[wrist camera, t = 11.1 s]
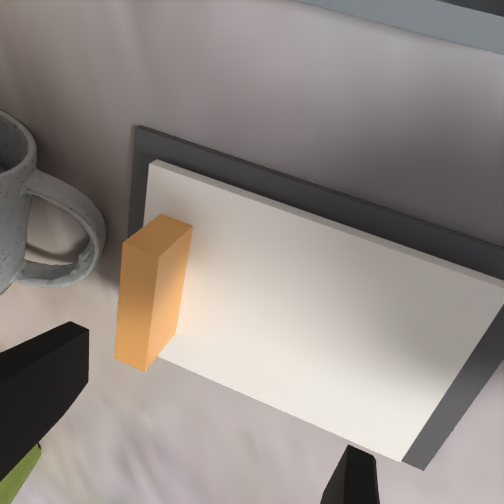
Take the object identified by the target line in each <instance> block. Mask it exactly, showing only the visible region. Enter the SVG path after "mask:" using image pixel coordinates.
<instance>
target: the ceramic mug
mask: <svg viewBox="0 0 504 504" xmlns="http://www.w3.org/2000/svg"><path fill="white" fill-rule="evenodd" d="M36 161H37V147H36V143H35V140H34V138H33V136H32V135H31V133H30V132H29V130H28V129H27V128H25V127H24V126H23V125H22V124H21V123H20V122H19V121H18V120H16V119H15V118H13V117H11V116H10V115H8V114H7V113H5V112H3V111H1V110H0V295H2V294H3V293H4V292H5V291H6V290H7V289H8V288H9V287H10V285H11V284H12V283H13V282H14V281H15V282H19V283H22V284H26V285H31V286H39V287H46V288H50V287H66V286H69V285H72V284H74V283H77V282H79V281H81V280H82V279H84V278H86V277H87V276H88V275H89V274H90V273H91V272H92V271H93V270H94V268H95V266H96V264H97V263H98V261H99V259H100V256H101V253H102V250H103V247H104V245H105V241H106V225H105V221H104V218H103V216H102V214H101V212H100V211H99V210H98V208H97V207H96V205H95V204H94V202H93V201H91V200H90V199H89V198H88V197H87V196H86V195H85V194H84V193H83V192H81V191H80V190H79V189H77V188H75V187H73V186H72V185H70V184H68V183H66V182H64V181H62V180H60V179H58V178H56V177H54V176H52V175H49V174H46V173H44V172H42V171H40V170H38V169H37V168H36ZM32 195H37V196H39V197H41V198H43V199H44V200H46V201H48V202H50V203H52V204H54V205H56V206H58V207H59V208H61V209H63V210H64V211H66V212H68V213H69V214H71V215H72V216H73V217H74V218H76V219H77V220H78V221H79V222H80V223H81V224H82V226H83V228H84V229H85V231H86V232H87V233H88V234H89V235H90V240H89V243H88V245H87V247H86V249H85V251H83V252H82V253H80V254H79V256H78V257H79V259H78V262H76V263H72V264H68V265H48V264H41V263H37V262H32V261H28V260H25V259H24V256H25V246H26V240H27V223H28V217H29V211H30V206H31V201H32Z"/></svg>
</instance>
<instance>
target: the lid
mask: <svg viewBox="0 0 504 504" xmlns="http://www.w3.org/2000/svg"><path fill="white" fill-rule="evenodd" d="M503 304H504V281H503V280H500V279H497V278H495V277H492V276H489V275H486V274H483V273H480V272H477V271H475V270H472V269H469V268H466V267H463V266H460V265H457V264H455V263H452V262H449V261H446V260H443V259H440V258H437V257H435V256H432V255H429V254H426V253H423V252H420V251H417V250H415V249H412V248H409V247H406V246H403V245H400V244H397V243H395V242H392V241H389V240H386V239H383V238H380V237H377V236H375V235H372V234H369V233H366V232H363V231H360V230H358V229H355V228H352V227H349V226H346V225H343V224H340V223H338V222H335V221H332V220H329V219H326V218H323V217H320V216H318V215H315V214H312V213H309V212H306V211H303V210H300V209H298V208H295V207H292V206H289V205H286V204H283V203H280V202H278V201H275V200H272V199H269V198H266V197H263V196H260V195H258V194H255V193H252V192H249V191H246V190H243V189H240V188H238V187H235V186H232V185H229V184H226V183H223V182H220V181H218V180H215V179H212V178H209V177H206V176H203V175H200V174H198V173H195V172H192V171H189V170H186V169H183V168H180V167H178V166H175V165H172V164H169V163H166V162H163V161H160V160H158V159H156V160H155V161H153V162H151V163H149V171H148V182H147V192H146V203H145V213H144V223H143V228H141V229H140V230H139V231H137V232H136V233H135V234H133V235H132V236H131V237H129V238H128V239H127V240H125V241H124V242H123V244H122V259H121V273H120V287H119V302H118V316H117V331H116V345H115V359H117V360H119V361H122V362H124V363H126V364H128V365H131V366H133V367H135V368H137V369H140V370H142V371H144V372H145V371H146V370H147V369H148V367H149V366H150V365H151V364H152V362H153V361H154V360H155V359H156V357H157V356H158V357H160V358H163V359H165V360H167V361H170V362H172V363H174V364H176V365H179V366H181V367H183V368H186V369H188V370H190V371H192V372H195V373H197V374H199V375H202V376H204V377H206V378H208V379H211V380H213V381H215V382H217V383H220V384H222V385H224V386H227V387H229V388H231V389H233V390H236V391H238V392H240V393H243V394H245V395H247V396H249V397H252V398H254V399H256V400H259V401H261V402H263V403H265V404H268V405H270V406H272V407H275V408H277V409H279V410H281V411H284V412H286V413H288V414H290V415H293V416H295V417H297V418H300V419H302V420H304V421H306V422H309V423H311V424H313V425H316V426H318V427H320V428H322V429H325V430H327V431H329V432H332V433H334V434H336V435H338V436H341V437H343V438H345V439H348V440H350V441H352V442H354V443H357V444H359V445H361V446H363V447H366V448H368V449H370V450H373V451H375V452H377V453H379V454H382V455H384V456H386V457H389V458H391V459H393V460H395V461H398V462H401V460H402V459H403V457H404V456H405V454H406V453H407V451H408V450H409V448H410V446H411V445H412V443H413V442H414V440H415V439H416V437H417V436H418V434H419V433H420V431H421V430H422V428H423V427H424V425H425V424H426V422H427V420H428V419H429V417H430V416H431V414H432V413H433V411H434V410H435V408H436V407H437V405H438V404H439V402H440V401H441V399H442V398H443V396H444V394H445V393H446V391H447V390H448V388H449V387H450V385H451V384H452V382H453V381H454V379H455V378H456V376H457V375H458V373H459V372H460V370H461V368H462V367H463V365H464V364H465V362H466V361H467V359H468V358H469V356H470V355H471V353H472V352H473V350H474V349H475V347H476V346H477V344H478V342H479V341H480V339H481V338H482V336H483V335H484V333H485V332H486V330H487V329H488V327H489V326H490V324H491V323H492V321H493V320H494V318H495V316H496V315H497V313H498V312H499V310H500V309H501V307H502V306H503Z"/></svg>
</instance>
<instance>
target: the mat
mask: <svg viewBox="0 0 504 504" xmlns="http://www.w3.org/2000/svg"><path fill="white" fill-rule="evenodd" d="M156 159H158V160H160V161H163V162H166V163H169V164H172V165H175V166H178V167H180V168H183V169H186V170H189V171H192V172H195V173H198V174H200V175H203V176H206V177H209V178H212V179H215V180H218V181H220V182H223V183H226V184H229V185H232V186H235V187H238V188H240V189H243V190H246V191H249V192H252V193H255V194H258V195H260V196H263V197H266V198H269V199H272V200H275V201H278V202H280V203H283V204H286V205H289V206H292V207H295V208H298V209H300V210H303V211H306V212H309V213H312V214H315V215H318V216H320V217H323V218H326V219H329V220H332V221H335V222H338V223H340V224H343V225H346V226H349V227H352V228H355V229H358V230H360V231H363V232H366V233H369V234H372V235H375V236H377V237H380V238H383V239H386V240H389V241H392V242H395V243H397V244H400V245H403V246H406V247H409V248H412V249H415V250H417V251H420V252H423V253H426V254H429V255H432V256H435V257H437V258H440V259H443V260H446V261H449V262H452V263H455V264H457V265H460V266H463V267H466V268H469V269H472V270H475V271H477V272H480V273H483V274H486V275H489V276H492V277H495V278H497V279H500V280H503V281H504V248H502V247H499V246H497V245H494V244H491V243H488V242H485V241H482V240H479V239H476V238H473V237H470V236H467V235H464V234H461V233H458V232H455V231H452V230H449V229H446V228H443V227H440V226H437V225H434V224H431V223H428V222H425V221H422V220H419V219H416V218H413V217H410V216H407V215H405V214H402V213H399V212H396V211H393V210H390V209H387V208H384V207H381V206H378V205H375V204H372V203H369V202H366V201H363V200H360V199H357V198H354V197H351V196H348V195H345V194H342V193H339V192H336V191H333V190H330V189H327V188H324V187H321V186H318V185H315V184H313V183H310V182H307V181H304V180H301V179H298V178H295V177H292V176H289V175H286V174H283V173H280V172H277V171H274V170H271V169H268V168H265V167H262V166H259V165H256V164H253V163H250V162H247V161H244V160H241V159H238V158H235V157H232V156H229V155H226V154H224V153H221V152H218V151H215V150H212V149H209V148H206V147H203V146H200V145H197V144H194V143H191V142H188V141H185V140H182V139H179V138H176V137H173V136H170V135H167V134H164V133H161V132H158V131H155V130H152V129H149V128H146V127H143V126H139V127H136V132H135V146H134V159H133V172H132V186H131V199H130V212H129V225H128V238H129V237H131V236H132V235H133V234H135V233H136V232H137V231H139V230H140V229H141V228H143V223H144V213H145V203H146V192H147V182H148V171H149V163H151V162H153V161H155V160H156ZM503 359H504V304H503V306H502V307H501V309H500V310H499V312H498V313H497V315H496V316H495V318H494V320H493V321H492V323H491V324H490V326H489V327H488V329H487V330H486V332H485V333H484V335H483V336H482V338H481V339H480V341H479V342H478V344H477V346H476V347H475V349H474V350H473V352H472V353H471V355H470V356H469V358H468V359H467V361H466V362H465V364H464V365H463V367H462V368H461V370H460V372H459V373H458V375H457V376H456V378H455V379H454V381H453V382H452V384H451V385H450V387H449V388H448V390H447V391H446V393H445V394H444V396H443V398H442V399H441V401H440V402H439V404H438V405H437V407H436V408H435V410H434V411H433V413H432V414H431V416H430V417H429V419H428V420H427V422H426V424H425V425H424V427H423V428H422V430H421V431H420V433H419V434H418V436H417V437H416V439H415V440H414V442H413V443H412V445H411V446H410V448H409V450H408V451H407V453H406V454H405V456H404V457H403V459H402V460H401V461H402V462H405V463H407V464H409V465H412V466H414V467H416V468H419V469H421V470H423V471H424V470H425V468H426V467H427V466H428V464H429V463H430V461H431V460H432V459H433V457H434V456H435V454H436V453H437V452H438V450H439V449H440V447H441V446H442V445H443V443H444V442H445V440H446V439H447V438H448V436H449V435H450V433H451V432H452V431H453V429H454V428H455V426H456V425H457V423H458V422H459V421H460V419H461V418H462V416H463V415H464V414H465V412H466V411H467V409H468V408H469V407H470V405H471V404H472V402H473V401H474V400H475V398H476V397H477V395H478V394H479V393H480V391H481V390H482V388H483V387H484V386H485V384H486V383H487V381H488V380H489V379H490V377H491V376H492V374H493V373H494V372H495V370H496V369H497V367H498V366H499V365H500V363H501V362H502V360H503Z"/></svg>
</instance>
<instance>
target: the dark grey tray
mask: <svg viewBox="0 0 504 504" xmlns="http://www.w3.org/2000/svg"><path fill="white" fill-rule="evenodd" d="M296 1H299V2H303V3H307V4H311V5H315V6H319V7H322V8H326V9H330V10H334V11H338V12H341V13H345V14H349V15H353V16H357V17H361V18H364V19H368V20H372V21H376V22H380V23H383V24H387V25H391V26H395V27H399V28H403V29H406V30H410V31H414V32H418V33H422V34H425V35H429V36H433V37H437V38H441V39H444V40H448V41H452V42H456V43H460V44H464V45H467V46H471V47H475V48H479V49H483V50H486V51H490V52H494V53H498V54H502V55H504V0H296Z"/></svg>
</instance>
